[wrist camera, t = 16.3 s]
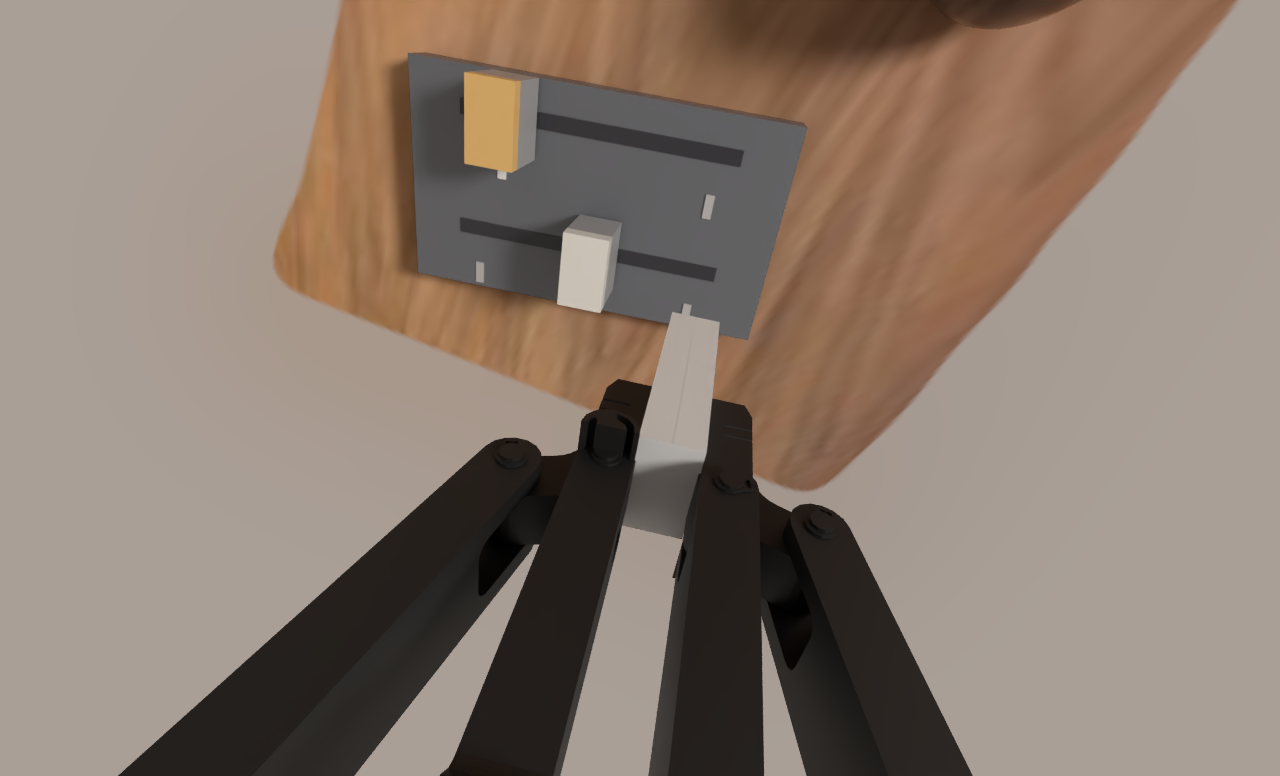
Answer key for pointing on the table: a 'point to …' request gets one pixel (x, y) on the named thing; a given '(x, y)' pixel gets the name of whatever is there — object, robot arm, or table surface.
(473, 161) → the amber fader
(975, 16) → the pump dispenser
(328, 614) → the robot arm
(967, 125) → the table surface
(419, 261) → the console
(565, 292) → the block
